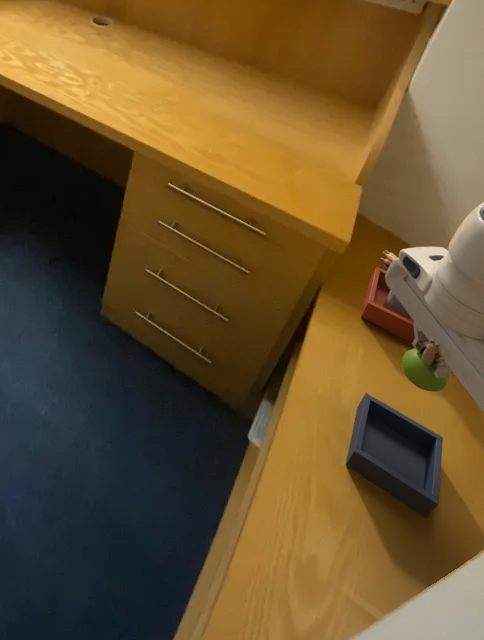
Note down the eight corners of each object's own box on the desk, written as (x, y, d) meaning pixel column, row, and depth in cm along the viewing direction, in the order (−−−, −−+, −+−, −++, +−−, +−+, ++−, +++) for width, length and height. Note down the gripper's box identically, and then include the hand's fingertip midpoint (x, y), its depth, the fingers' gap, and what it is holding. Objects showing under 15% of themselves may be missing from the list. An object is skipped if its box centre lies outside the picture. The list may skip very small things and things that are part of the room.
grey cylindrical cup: (409, 308, 102) (428, 275, 97) (409, 326, 99) (429, 292, 94) (383, 297, 104) (401, 264, 99) (382, 314, 101) (400, 280, 96)
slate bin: (357, 406, 87) (365, 392, 85) (431, 451, 81) (443, 437, 79) (345, 465, 80) (354, 451, 78) (426, 518, 74) (438, 504, 72)
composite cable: (433, 282, 108) (437, 275, 107) (426, 296, 105) (431, 288, 104) (381, 254, 114) (385, 246, 113) (374, 266, 112) (378, 258, 110)
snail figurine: (385, 376, 77) (413, 326, 71) (409, 355, 79) (437, 306, 74) (424, 410, 72) (456, 360, 67) (447, 387, 75) (480, 337, 69)
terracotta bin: (369, 280, 108) (376, 266, 106) (429, 308, 103) (437, 294, 100) (360, 317, 101) (368, 302, 99) (424, 349, 96) (433, 335, 93)
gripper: (567, 381, 58) (512, 441, 65) (433, 238, 76) (401, 296, 82) (515, 385, 57) (465, 445, 64) (392, 240, 75) (364, 299, 82)
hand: (428, 360), depth 73 cm, fingers closed on snail figurine
